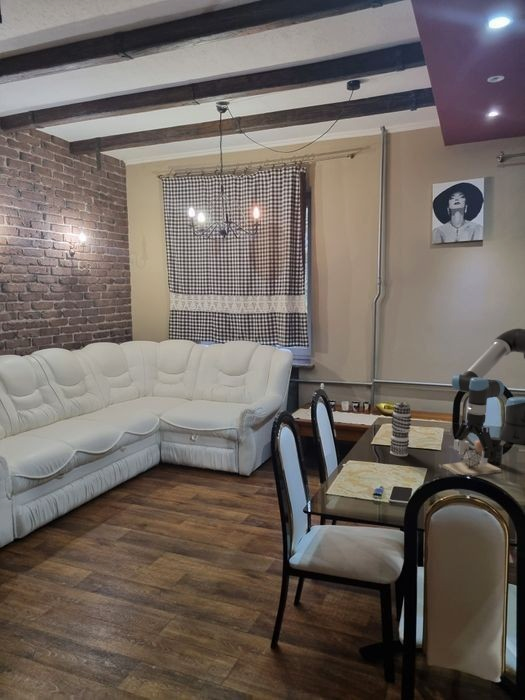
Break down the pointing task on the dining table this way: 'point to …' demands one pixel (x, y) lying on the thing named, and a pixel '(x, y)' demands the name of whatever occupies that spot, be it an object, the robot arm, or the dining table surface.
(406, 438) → the tower model
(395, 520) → the dining table surface
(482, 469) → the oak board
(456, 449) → the grey block
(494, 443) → the supplement bottle
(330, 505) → the dining table surface
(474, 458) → the game die
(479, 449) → the terracotta cylinder
